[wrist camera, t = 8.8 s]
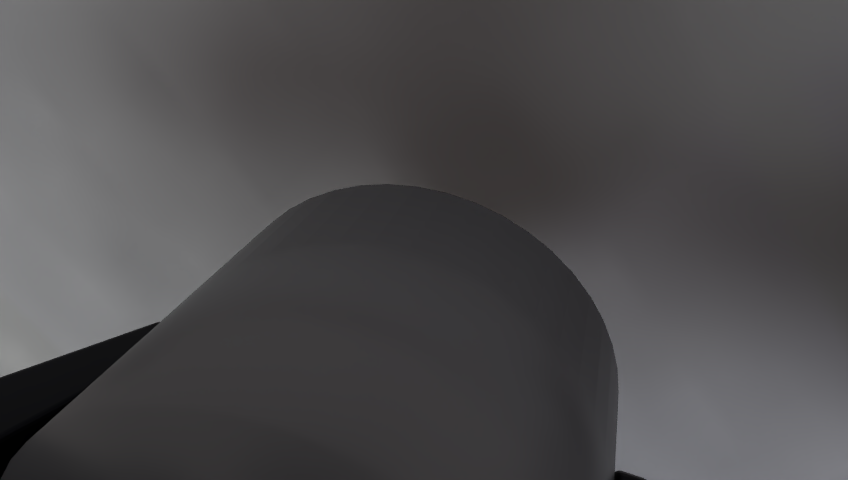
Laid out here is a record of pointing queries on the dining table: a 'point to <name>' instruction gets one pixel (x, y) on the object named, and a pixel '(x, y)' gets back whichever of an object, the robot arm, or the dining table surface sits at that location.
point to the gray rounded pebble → (358, 360)
